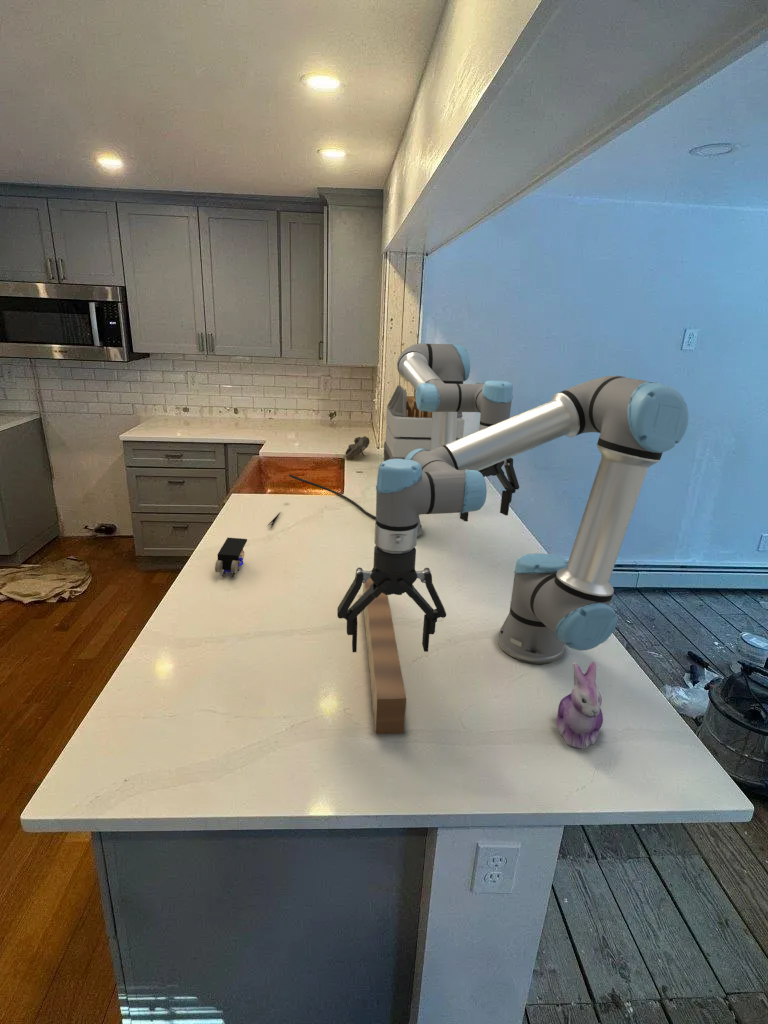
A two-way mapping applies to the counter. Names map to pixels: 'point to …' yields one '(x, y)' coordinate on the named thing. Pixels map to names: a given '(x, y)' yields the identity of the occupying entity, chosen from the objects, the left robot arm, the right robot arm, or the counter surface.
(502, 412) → the left robot arm
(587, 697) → the figurine
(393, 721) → the bar
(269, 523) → the feather
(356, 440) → the fossil
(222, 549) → the black boxy wheeled piece
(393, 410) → the grey slatted crate
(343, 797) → the counter surface
